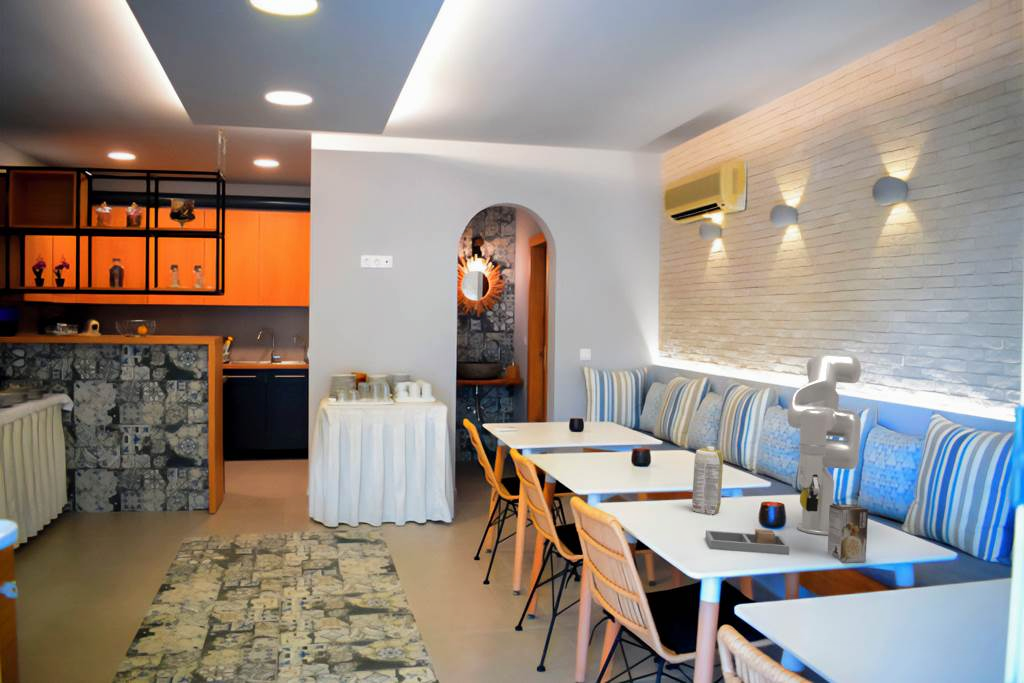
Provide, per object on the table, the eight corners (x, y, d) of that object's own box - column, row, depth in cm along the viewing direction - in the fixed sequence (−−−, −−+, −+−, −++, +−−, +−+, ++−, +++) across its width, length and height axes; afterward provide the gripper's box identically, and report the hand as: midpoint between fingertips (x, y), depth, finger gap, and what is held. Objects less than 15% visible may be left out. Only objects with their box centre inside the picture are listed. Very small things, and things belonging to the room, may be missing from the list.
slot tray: (705, 541, 258) (705, 530, 258) (779, 546, 256) (780, 535, 255) (710, 552, 246) (711, 540, 246) (788, 558, 244) (789, 546, 243)
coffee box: (851, 555, 249) (855, 503, 249) (866, 562, 243) (869, 508, 243) (826, 556, 247) (829, 504, 246) (839, 563, 241) (843, 509, 240)
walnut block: (754, 544, 253) (755, 528, 253) (770, 545, 252) (771, 530, 252) (757, 549, 248) (758, 533, 248) (774, 550, 247) (775, 534, 247)
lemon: (813, 510, 252) (815, 484, 251) (821, 514, 246) (822, 488, 246) (796, 509, 252) (797, 483, 251) (803, 514, 246) (804, 488, 246)
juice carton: (721, 512, 299) (725, 447, 298) (714, 516, 292) (718, 449, 291) (697, 508, 304) (700, 444, 303) (689, 511, 297) (693, 446, 296)
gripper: (792, 444, 257) (789, 500, 258) (806, 454, 240) (803, 514, 241) (817, 445, 256) (814, 502, 257) (833, 455, 239) (829, 516, 240)
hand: (808, 507), depth 249 cm, fingers closed on lemon, 5 cm apart
